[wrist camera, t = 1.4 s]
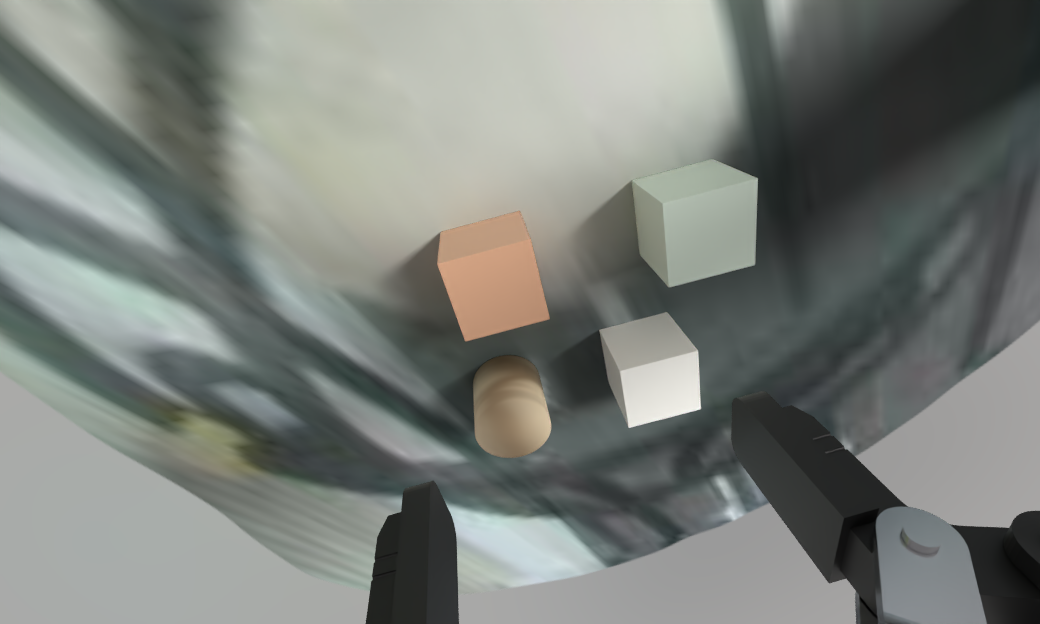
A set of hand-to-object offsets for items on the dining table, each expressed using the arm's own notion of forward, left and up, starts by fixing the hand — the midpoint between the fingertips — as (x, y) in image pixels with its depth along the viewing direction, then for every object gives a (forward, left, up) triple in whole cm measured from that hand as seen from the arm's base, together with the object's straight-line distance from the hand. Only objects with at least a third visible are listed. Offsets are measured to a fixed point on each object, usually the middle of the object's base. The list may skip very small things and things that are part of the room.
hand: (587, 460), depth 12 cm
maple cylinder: (+3, +12, -19) cm, 22 cm away
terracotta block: (+2, +2, -19) cm, 19 cm away
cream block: (-7, +12, -19) cm, 23 cm away
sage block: (-10, +2, -19) cm, 21 cm away
